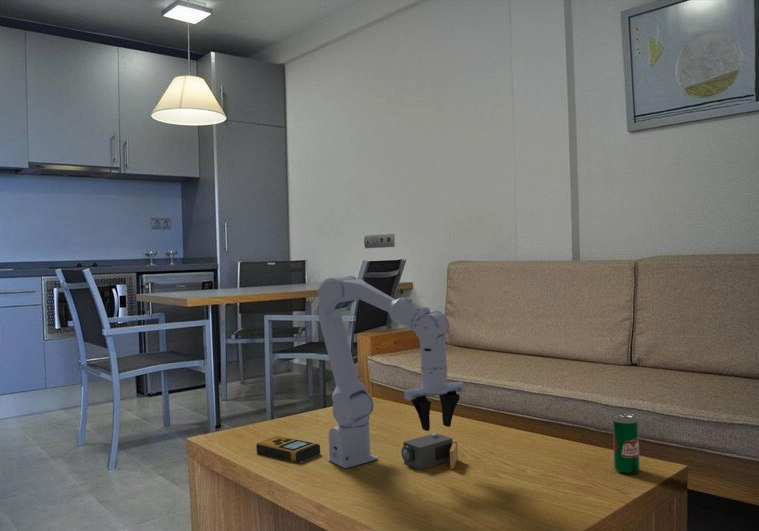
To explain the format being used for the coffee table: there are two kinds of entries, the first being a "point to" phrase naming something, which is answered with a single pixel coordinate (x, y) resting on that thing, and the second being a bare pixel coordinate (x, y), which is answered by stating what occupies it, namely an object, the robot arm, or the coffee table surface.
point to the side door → (453, 455)
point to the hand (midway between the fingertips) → (436, 427)
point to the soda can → (626, 443)
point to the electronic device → (288, 448)
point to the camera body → (427, 450)
